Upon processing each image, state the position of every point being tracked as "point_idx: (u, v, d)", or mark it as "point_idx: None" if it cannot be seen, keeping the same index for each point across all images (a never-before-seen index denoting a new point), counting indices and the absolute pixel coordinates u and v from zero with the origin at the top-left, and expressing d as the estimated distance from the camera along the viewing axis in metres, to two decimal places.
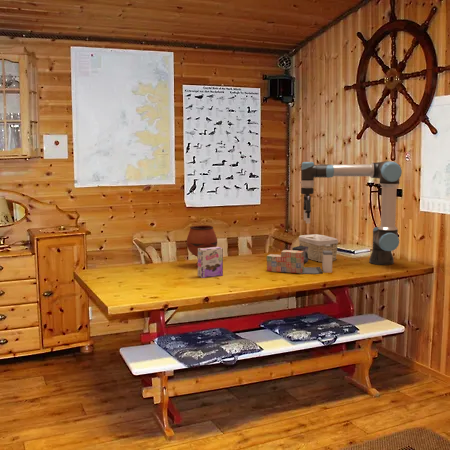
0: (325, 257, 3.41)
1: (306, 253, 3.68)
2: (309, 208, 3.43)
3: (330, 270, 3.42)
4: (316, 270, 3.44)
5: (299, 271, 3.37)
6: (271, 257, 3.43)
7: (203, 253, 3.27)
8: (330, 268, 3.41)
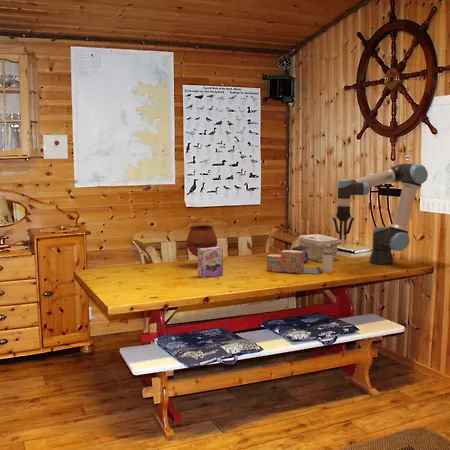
0: (325, 257, 3.41)
1: (306, 253, 3.68)
2: (336, 230, 3.41)
3: (330, 270, 3.42)
4: (316, 270, 3.44)
5: (299, 271, 3.37)
6: (271, 257, 3.43)
7: (203, 253, 3.27)
8: (330, 268, 3.41)
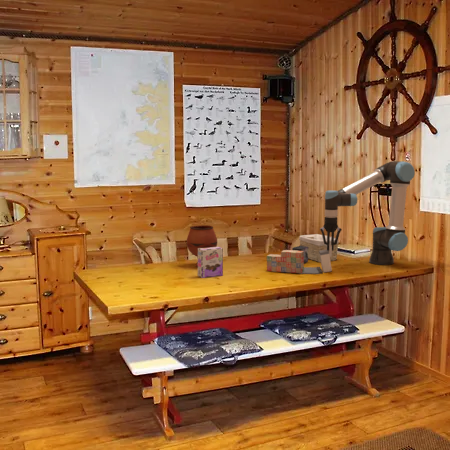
0: (322, 257, 3.41)
1: (306, 253, 3.68)
2: None
3: (330, 269, 3.42)
4: (316, 270, 3.44)
5: (299, 271, 3.37)
6: (271, 257, 3.43)
7: (203, 253, 3.27)
8: (329, 267, 3.41)
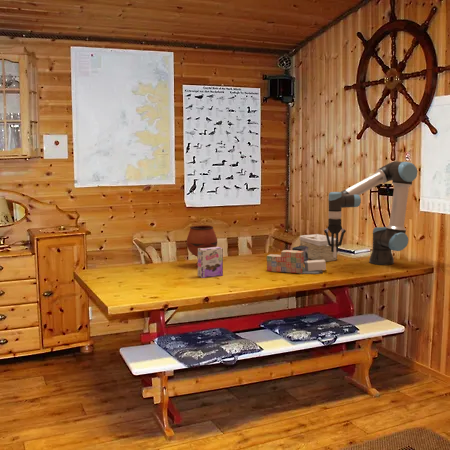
0: (310, 269, 3.42)
1: (306, 253, 3.68)
2: (328, 242, 3.42)
3: (323, 263, 3.41)
4: (316, 270, 3.44)
5: (299, 271, 3.37)
6: (271, 257, 3.43)
7: (203, 253, 3.27)
8: (321, 263, 3.41)
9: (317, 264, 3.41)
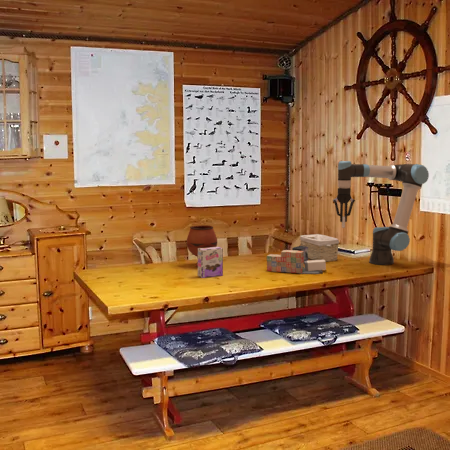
0: (310, 269, 3.42)
1: (306, 253, 3.68)
2: None
3: (323, 263, 3.41)
4: (316, 270, 3.44)
5: (299, 271, 3.37)
6: (271, 257, 3.43)
7: (203, 253, 3.27)
8: (321, 263, 3.41)
9: (317, 264, 3.41)
